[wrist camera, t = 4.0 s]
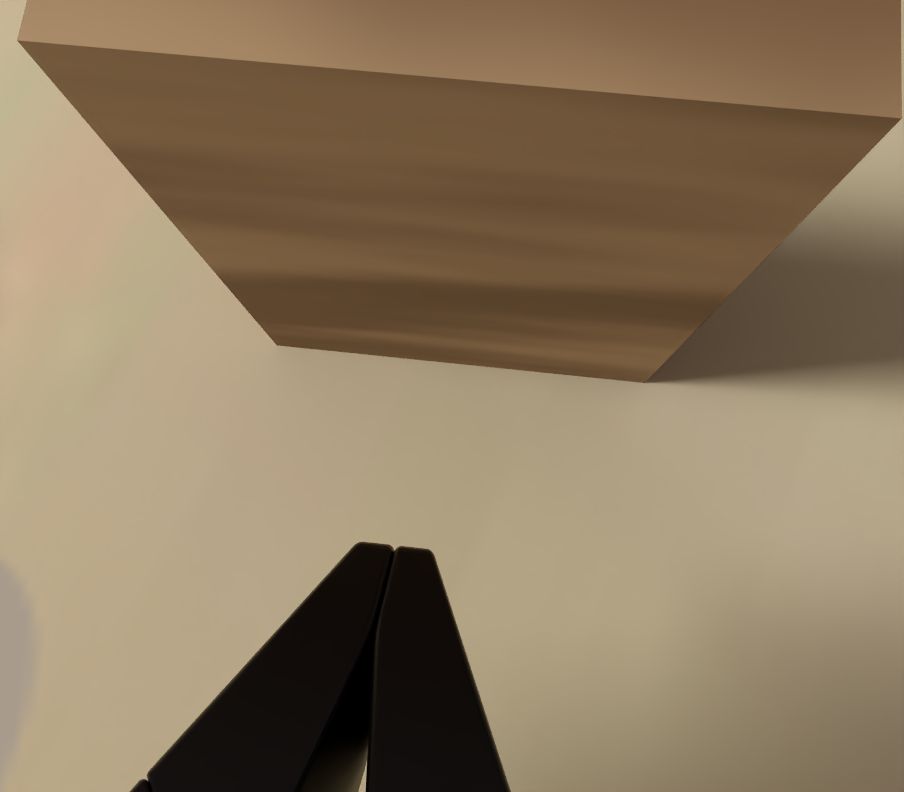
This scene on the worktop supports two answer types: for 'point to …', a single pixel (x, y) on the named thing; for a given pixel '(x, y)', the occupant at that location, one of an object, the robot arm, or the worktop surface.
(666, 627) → the worktop surface
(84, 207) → the worktop surface
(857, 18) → the walnut slab
